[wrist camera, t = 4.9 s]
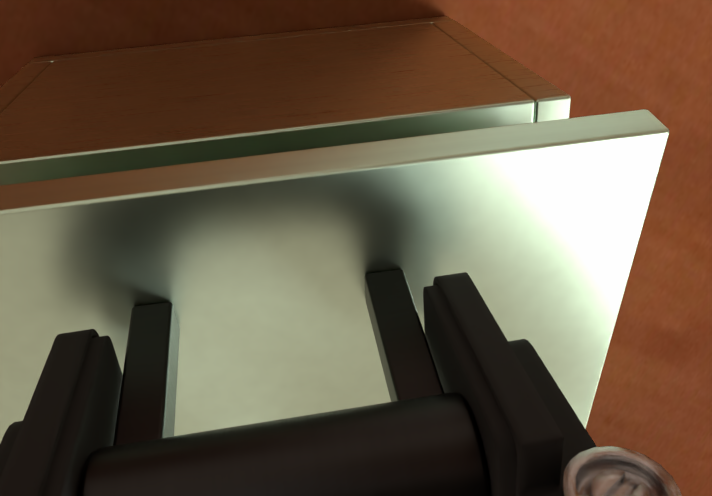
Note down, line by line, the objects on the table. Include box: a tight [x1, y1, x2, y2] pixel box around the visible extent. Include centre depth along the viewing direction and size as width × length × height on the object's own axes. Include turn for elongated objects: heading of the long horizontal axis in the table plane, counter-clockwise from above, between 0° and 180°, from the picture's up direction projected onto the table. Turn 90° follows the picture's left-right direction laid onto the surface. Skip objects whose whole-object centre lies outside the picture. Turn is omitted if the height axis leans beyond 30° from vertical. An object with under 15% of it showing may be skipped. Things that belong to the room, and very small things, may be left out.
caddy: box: [0, 16, 571, 186], centre depth 22 cm, size 16×14×10 cm
